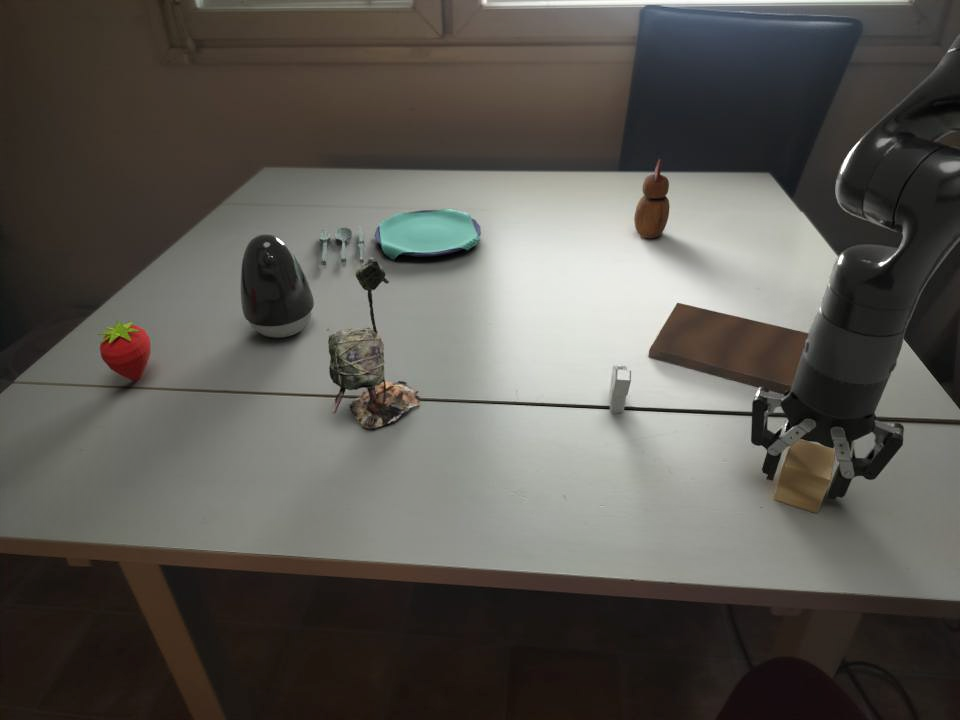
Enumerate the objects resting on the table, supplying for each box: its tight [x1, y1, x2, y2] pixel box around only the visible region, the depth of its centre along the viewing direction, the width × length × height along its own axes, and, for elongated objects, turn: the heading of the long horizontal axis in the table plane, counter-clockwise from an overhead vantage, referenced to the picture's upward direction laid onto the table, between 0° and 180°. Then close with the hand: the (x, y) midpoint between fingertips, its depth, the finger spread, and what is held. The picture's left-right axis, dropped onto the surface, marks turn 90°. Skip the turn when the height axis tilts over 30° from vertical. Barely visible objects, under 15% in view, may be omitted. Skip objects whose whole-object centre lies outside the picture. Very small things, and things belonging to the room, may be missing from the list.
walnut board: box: [647, 302, 809, 395], centre depth 94 cm, size 20×14×2 cm
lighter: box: [609, 364, 632, 414], centre depth 82 cm, size 7×2×8 cm, turn 171°
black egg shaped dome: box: [240, 233, 315, 339], centre depth 97 cm, size 10×10×15 cm
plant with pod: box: [326, 257, 421, 430], centre depth 79 cm, size 8×11×20 cm
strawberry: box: [97, 317, 151, 382], centre depth 88 cm, size 6×8×10 cm
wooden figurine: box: [633, 158, 670, 239], centre depth 121 cm, size 7×6×15 cm
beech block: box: [772, 439, 836, 514], centre depth 71 cm, size 4×5×5 cm
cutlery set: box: [319, 208, 482, 266], centre depth 124 cm, size 20×30×2 cm, turn 99°
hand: (800, 484), depth 72 cm, fingers open, 5 cm apart
